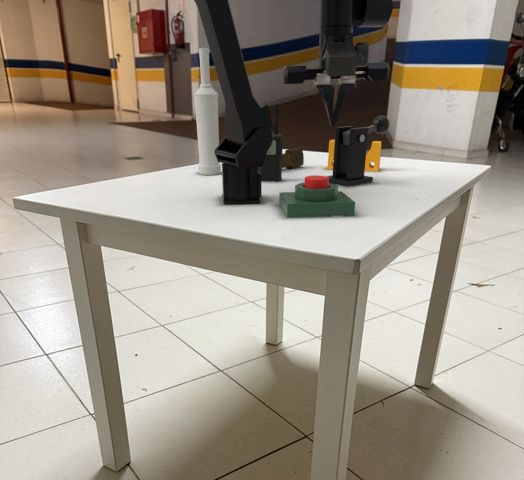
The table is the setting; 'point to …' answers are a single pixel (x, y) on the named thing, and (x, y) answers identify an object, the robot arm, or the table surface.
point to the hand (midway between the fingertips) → (332, 125)
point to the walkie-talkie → (273, 156)
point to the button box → (316, 202)
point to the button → (316, 182)
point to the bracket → (350, 157)
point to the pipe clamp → (370, 156)
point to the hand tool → (292, 158)
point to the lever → (371, 128)
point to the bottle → (207, 119)
